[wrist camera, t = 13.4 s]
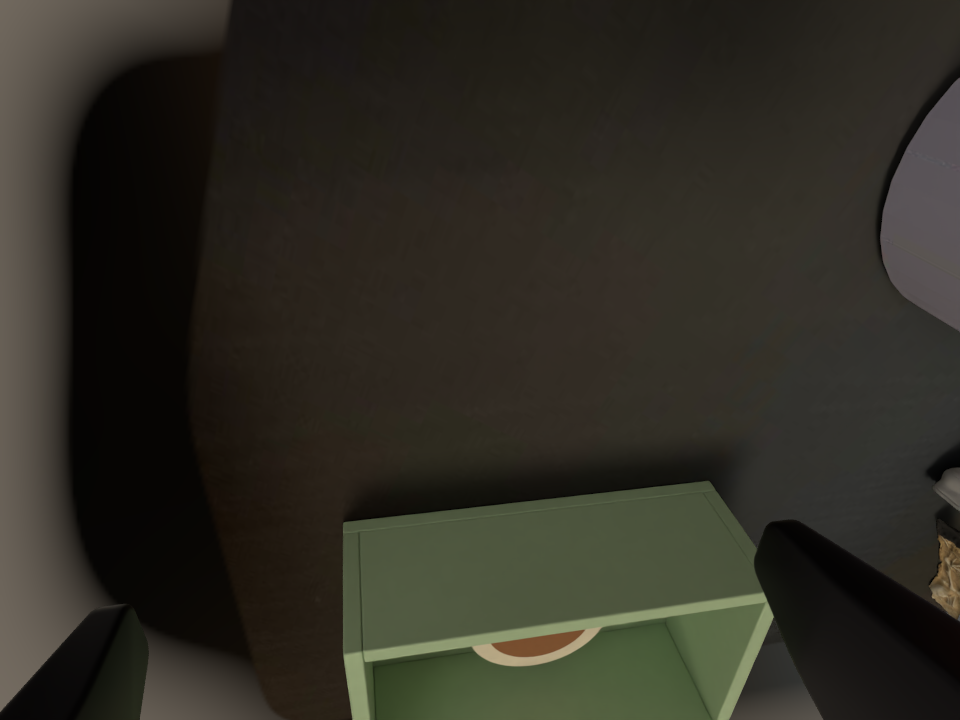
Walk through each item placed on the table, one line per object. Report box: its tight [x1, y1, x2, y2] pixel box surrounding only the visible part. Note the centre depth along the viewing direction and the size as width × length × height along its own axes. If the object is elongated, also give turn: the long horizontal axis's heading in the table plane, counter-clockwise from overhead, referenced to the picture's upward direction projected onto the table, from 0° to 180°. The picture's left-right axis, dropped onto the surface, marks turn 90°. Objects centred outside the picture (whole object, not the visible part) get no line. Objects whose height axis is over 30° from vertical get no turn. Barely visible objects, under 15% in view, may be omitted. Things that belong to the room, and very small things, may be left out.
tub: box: [343, 481, 774, 720], centre depth 26 cm, size 15×9×6 cm, turn 88°
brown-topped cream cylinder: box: [471, 627, 602, 667], centre depth 27 cm, size 6×6×2 cm
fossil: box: [929, 519, 960, 619], centre depth 33 cm, size 8×2×1 cm, turn 21°
